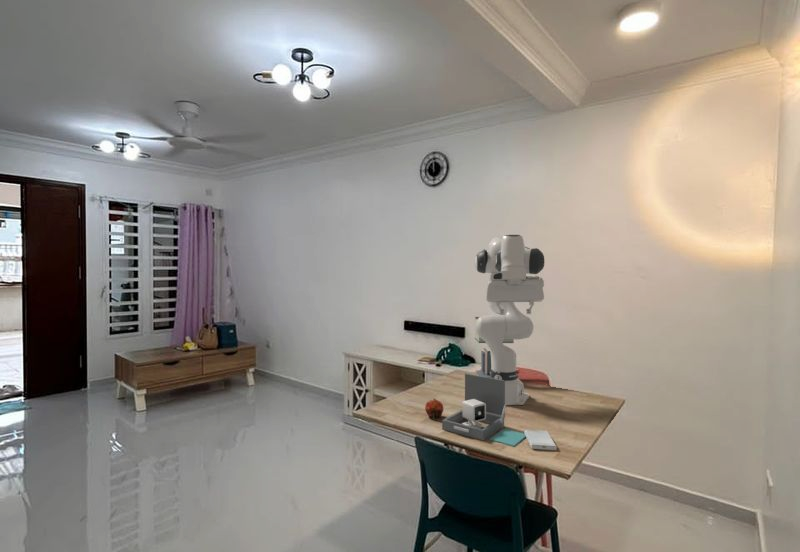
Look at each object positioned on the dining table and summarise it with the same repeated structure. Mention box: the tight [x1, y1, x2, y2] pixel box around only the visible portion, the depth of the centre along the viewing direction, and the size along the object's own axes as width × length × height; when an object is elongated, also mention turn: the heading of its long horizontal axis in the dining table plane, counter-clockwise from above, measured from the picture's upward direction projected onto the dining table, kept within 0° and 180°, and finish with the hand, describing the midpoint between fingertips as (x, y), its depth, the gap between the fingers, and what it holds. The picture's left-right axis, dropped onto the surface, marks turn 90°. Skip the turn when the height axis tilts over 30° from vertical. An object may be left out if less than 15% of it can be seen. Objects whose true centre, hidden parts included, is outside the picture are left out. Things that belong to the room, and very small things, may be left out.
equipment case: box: [441, 373, 507, 442], centre depth 162 cm, size 19×18×18 cm
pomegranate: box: [424, 398, 444, 421], centre depth 174 cm, size 7×7×10 cm
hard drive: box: [523, 429, 558, 451], centre depth 149 cm, size 2×8×12 cm
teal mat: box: [489, 428, 526, 447], centre depth 153 cm, size 12×9×1 cm
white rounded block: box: [461, 399, 486, 429], centre depth 162 cm, size 6×7×10 cm
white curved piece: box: [474, 316, 515, 378], centre depth 233 cm, size 18×14×33 cm
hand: (515, 314), depth 154 cm, fingers open, 8 cm apart
